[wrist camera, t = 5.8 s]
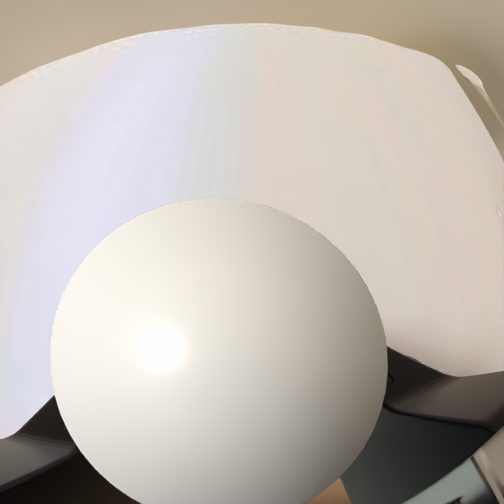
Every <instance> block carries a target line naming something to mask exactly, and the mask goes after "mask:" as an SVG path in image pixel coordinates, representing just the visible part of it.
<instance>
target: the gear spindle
mask: <svg viewBox="0 0 504 504" xmlns="http://www.w3.org/2000/svg"><path fill="white" fill-rule="evenodd" d="M50 371H51V378H52V384H53V390H54V395H55V398H56V401H57V405H58V408H59V411H60V414H61V416H62V419H63V421H64V423H65V425H66V427H67V429H68V431H69V433H70V435H71V437H72V438H73V440H74V442H75V443H76V445H77V446H78V448H79V449H80V451H81V452H82V454H83V455H84V456H85V457H86V459H87V460H88V461H89V462H90V463H91V465H92V466H93V467H94V468H95V469H96V470H97V471H98V472H99V473H100V474H101V475H102V476H103V477H104V478H105V479H106V480H108V481H109V482H110V483H111V484H112V485H113V486H115V487H116V488H118V489H119V490H120V491H122V492H123V493H125V494H126V495H127V496H129V497H130V498H132V499H134V500H136V501H138V502H140V503H141V504H303V503H305V502H307V501H308V500H310V499H312V498H313V497H315V496H317V495H318V494H320V493H321V492H322V491H324V490H325V489H326V488H327V487H329V486H330V485H331V484H332V483H334V482H335V481H336V480H337V479H338V478H339V477H340V476H341V475H342V474H343V473H344V472H345V471H346V470H347V469H348V468H349V467H350V466H351V464H352V463H353V462H354V460H355V459H356V458H357V456H358V455H359V454H360V452H361V451H362V449H363V448H364V446H365V445H366V443H367V441H368V439H369V437H370V435H371V434H372V432H373V430H374V427H375V425H376V422H377V419H378V417H379V414H380V411H381V408H382V404H383V400H384V395H385V391H386V383H387V371H388V362H387V346H386V340H385V334H384V329H383V325H382V322H381V318H380V315H379V312H378V309H377V306H376V304H375V302H374V300H373V298H372V295H371V293H370V291H369V289H368V287H367V286H366V284H365V282H364V281H363V279H362V278H361V276H360V275H359V273H358V272H357V270H356V269H355V267H354V266H353V265H352V264H351V263H350V261H349V260H348V259H347V258H346V257H345V255H344V254H343V253H342V252H341V251H340V250H339V249H338V248H337V247H336V246H334V245H333V244H332V243H331V242H330V241H329V240H328V239H327V238H326V237H324V236H323V235H321V234H320V233H319V232H317V231H316V230H314V229H313V228H312V227H310V226H309V225H307V224H305V223H304V222H302V221H300V220H298V219H296V218H294V217H292V216H290V215H289V214H286V213H284V212H281V211H278V210H276V209H273V208H271V207H268V206H264V205H260V204H256V203H252V202H248V201H241V200H233V199H225V198H219V199H195V200H188V201H181V202H177V203H173V204H169V205H165V206H162V207H158V208H156V209H153V210H151V211H149V212H146V213H144V214H141V215H139V216H137V217H135V218H134V219H132V220H130V221H128V222H127V223H125V224H123V225H121V226H120V227H119V228H117V229H116V230H115V231H113V232H112V233H111V234H109V235H108V236H107V237H105V238H104V239H103V240H102V241H101V242H100V243H99V244H98V245H97V246H96V247H95V248H94V249H93V250H92V251H91V252H90V253H89V254H88V255H87V257H86V258H85V259H84V260H83V262H82V263H81V264H80V266H79V267H78V268H77V270H76V271H75V273H74V274H73V276H72V278H71V280H70V281H69V283H68V285H67V287H66V289H65V291H64V293H63V296H62V298H61V301H60V303H59V306H58V308H57V312H56V316H55V320H54V324H53V328H52V335H51V344H50Z"/></svg>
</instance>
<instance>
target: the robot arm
mask: <svg viewBox="0 0 504 504" xmlns="http://www.w3.org/2000/svg"><path fill="white" fill-rule="evenodd" d="M387 362H388V371H387V383H386V391H385V395H384V400H383V404H382V408H381V411H380V414H379V417H378V419H377V422H376V425H375V427H374V430H373V432H372V434H371V435H370V437H369V439H368V441H367V443H366V445H365V446H364V448H363V449H362V451H361V452H360V454H359V455H358V456H357V458H356V459H355V460H354V462H353V463H352V464H351V466H350V467H349V468H348V469H347V470H346V471H345V472H344V473H343V474H342V475H341V476H340V479H341V481H342V483H343V486H344V488H345V490H346V493H347V495H348V497H349V499H350V502H351V504H504V371H500V372H494V373H488V374H481V375H474V376H466V377H456V376H450V375H446V374H444V373H441V372H439V371H437V370H435V369H432V368H430V367H428V366H426V365H424V364H422V363H420V362H417V361H415V360H413V359H411V358H409V357H407V356H405V355H403V354H401V353H399V352H397V351H395V350H393V349H391V348H390V347H388V346H387ZM0 504H141V503H140V502H138V501H136V500H134V499H132V498H130V497H129V496H127V495H126V494H125V493H123V492H122V491H120V490H119V489H118V488H116V487H115V486H113V485H112V484H111V483H110V482H109V481H108V480H106V479H105V478H104V477H103V476H102V475H101V474H100V473H99V472H98V471H97V470H96V469H95V468H94V467H93V466H92V465H91V463H90V462H89V461H88V460H87V459H86V457H85V456H84V455H83V454H82V452H81V451H80V449H79V448H78V446H77V445H76V443H75V442H74V440H73V438H72V437H71V435H70V433H69V431H68V429H67V427H66V425H65V423H64V421H63V419H62V416H61V414H60V411H59V408H58V405H57V401H56V398H55V395H54V396H53V397H52V398H51V399H50V400H49V401H48V402H47V403H46V404H45V405H44V406H43V407H42V408H41V409H40V410H39V411H38V412H37V413H36V414H35V415H34V416H33V417H32V418H31V419H30V420H29V421H28V422H27V423H26V424H25V425H24V426H23V427H22V428H21V429H20V430H18V431H17V432H16V433H15V434H13V435H11V436H9V437H7V438H4V439H0Z"/></svg>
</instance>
